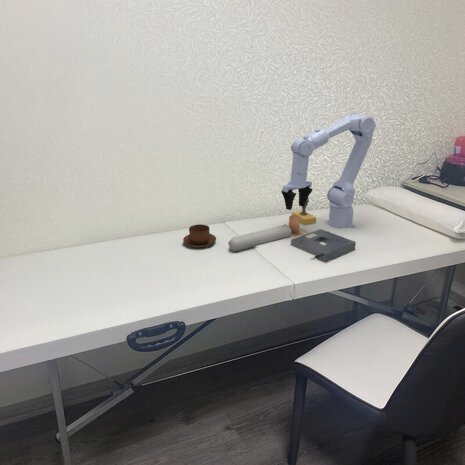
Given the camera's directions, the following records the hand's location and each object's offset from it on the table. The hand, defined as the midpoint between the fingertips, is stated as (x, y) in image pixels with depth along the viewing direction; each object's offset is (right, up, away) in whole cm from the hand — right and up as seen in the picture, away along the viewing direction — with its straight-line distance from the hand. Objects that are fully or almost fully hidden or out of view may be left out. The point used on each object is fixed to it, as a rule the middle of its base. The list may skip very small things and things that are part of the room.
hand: (295, 207), depth 163 cm
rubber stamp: (+6, -6, +16) cm, 18 cm away
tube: (-15, -11, -3) cm, 19 cm away
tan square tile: (0, -10, +4) cm, 11 cm away
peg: (0, -9, +4) cm, 10 cm away
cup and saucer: (-36, -14, -3) cm, 38 cm away
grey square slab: (+9, -15, -8) cm, 19 cm away
